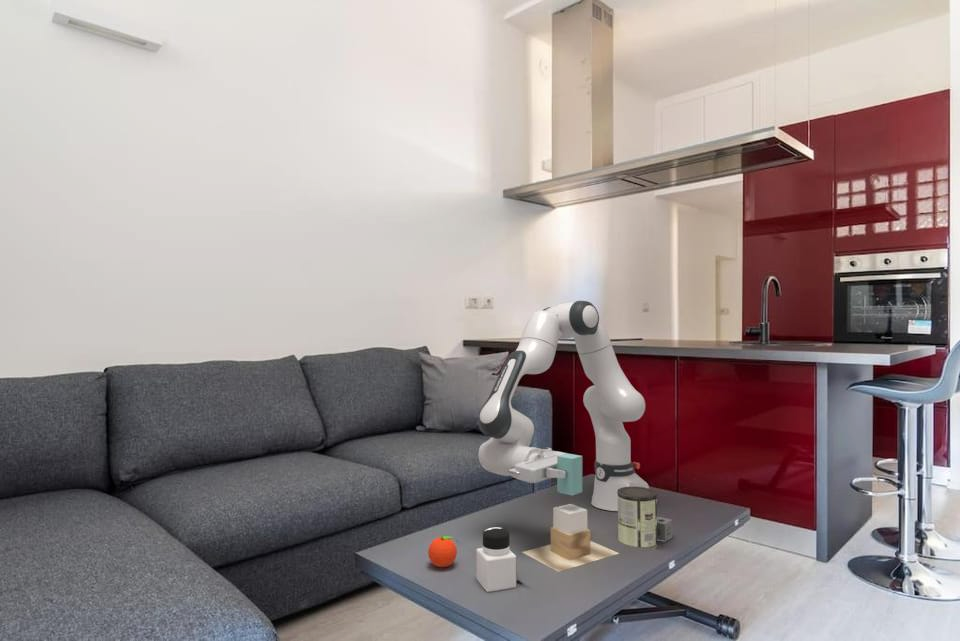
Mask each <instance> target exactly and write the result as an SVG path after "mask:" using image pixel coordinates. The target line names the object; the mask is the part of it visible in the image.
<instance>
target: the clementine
mask: <svg viewBox="0 0 960 641" xmlns="http://www.w3.org/2000/svg"><path fill="white" fill-rule="evenodd" d="M452 539H455V540H456V537H453V536H451V535H450V536H449V535H445V536H438V537H436V538H434V539H433V540H432V541H431V543H430V544H429V546H428V550H427V551H428V552H427V554H428V558H429V560H430V562H431V563H432V564H433V565H434V566H436V567H438V568H447V567H448V566H450V565H451V564H453V563H454V562H455V560H456V558H457V552H458V550H457V545H456V543H459V542H458V540H456V543H455V542H454V541H453V540H452Z"/></svg>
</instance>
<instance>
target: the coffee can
mask: <svg viewBox="0 0 960 641" xmlns="http://www.w3.org/2000/svg"><path fill="white" fill-rule="evenodd" d="M617 494H618V511H617V526H618V527H617V528H618V530H617V533H618V537H617V538H618V541H619V542H620V543H622V544H624V545H628V546H630V547H637V548H652V549H654V548H655V547H656V546H657V545H658V541H657V517H658V511H657V510H658V506H657V504H658V503H657V501H658V499H657V498H658V492H657V491H655V490H654V489H652V488H650V487H649V488H644V487H623V488H620V489H618V490H617ZM657 547H658V546H657Z"/></svg>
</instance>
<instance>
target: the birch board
mask: <svg viewBox="0 0 960 641" xmlns="http://www.w3.org/2000/svg"><path fill="white" fill-rule="evenodd" d="M521 553H522V554H524V555H526V556H528V557H530V558H532V559H533V560H535V561H537V562H539V563H541V564H543V565H544V566H546V567H548V568H550V569H552V570H554V571H556V572H558V573H560V572H562V571H566V570H570V569H572V568H573V569H574V568H576V567H579V566H582V565H586V564H589V563H593V562H595V561H600V560H602V559H606V558H609V557H613V556H615V555H619V554H620V553H619V552H617V551H616V550H615V551H614V550H613V549H610V548H607V547H605V546H604V545H601V544H600V543H596V542H595V541H592V540H590V555H586V556H583V557H580V558H576V559H573V560H567V559H565V558H563V557H561V556H559V555H557V554H555V553H553V552H551V544H547V545H543V546H540V547H536V548H532V549H529V550H524V551H521Z"/></svg>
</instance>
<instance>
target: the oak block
mask: <svg viewBox="0 0 960 641" xmlns="http://www.w3.org/2000/svg"><path fill="white" fill-rule="evenodd" d="M590 541H591V530H590V529H589V528H587V530H585V531H582V532H578V533H574V534H570V535H569V534H567V533H564V532H562V531H560V530H558V529H556V528H553V526H551V527H550V545H551V552H553V553H555V554H557V555H559V556H561V557H563V558H565V559H567V560H573V559H576V558H580V557H583V556H586V555H590Z"/></svg>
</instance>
